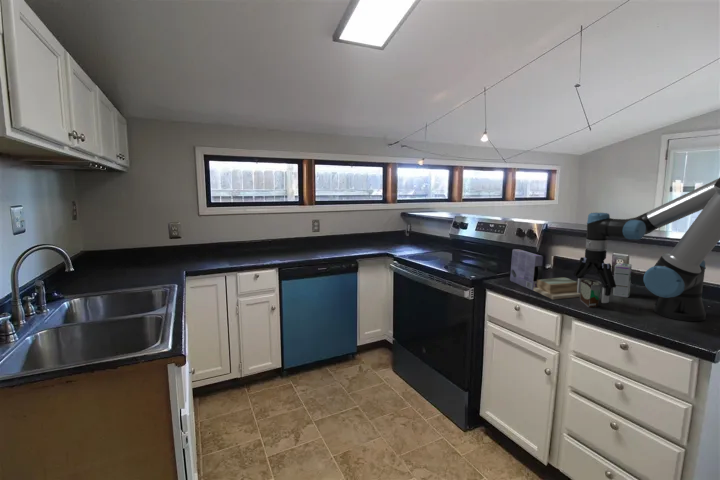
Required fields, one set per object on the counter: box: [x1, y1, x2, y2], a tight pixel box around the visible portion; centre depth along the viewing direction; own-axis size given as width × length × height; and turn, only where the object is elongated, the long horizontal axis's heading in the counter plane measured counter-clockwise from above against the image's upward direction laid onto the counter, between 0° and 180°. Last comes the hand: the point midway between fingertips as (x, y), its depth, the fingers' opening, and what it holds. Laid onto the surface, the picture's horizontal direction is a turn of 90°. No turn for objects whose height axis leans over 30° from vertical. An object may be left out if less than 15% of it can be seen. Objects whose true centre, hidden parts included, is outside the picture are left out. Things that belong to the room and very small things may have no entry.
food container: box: [579, 277, 604, 308], centre depth 152 cm, size 12×6×10 cm, turn 168°
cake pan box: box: [509, 248, 544, 291], centre depth 181 cm, size 19×5×18 cm, turn 13°
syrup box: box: [612, 262, 633, 298], centre depth 162 cm, size 6×6×14 cm
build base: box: [532, 276, 580, 300], centre depth 170 cm, size 18×18×6 cm
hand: (592, 297), depth 153 cm, fingers open, 13 cm apart
